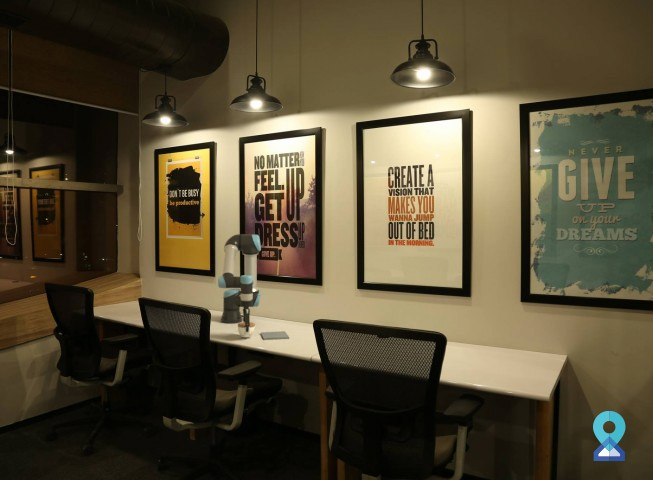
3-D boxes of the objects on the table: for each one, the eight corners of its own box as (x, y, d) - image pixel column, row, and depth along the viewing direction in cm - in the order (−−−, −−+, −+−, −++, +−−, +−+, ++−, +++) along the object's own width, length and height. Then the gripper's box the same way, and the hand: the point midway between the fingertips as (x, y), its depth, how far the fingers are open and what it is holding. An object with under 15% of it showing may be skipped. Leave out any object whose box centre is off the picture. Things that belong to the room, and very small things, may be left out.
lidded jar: (251, 338, 294) (251, 323, 293) (234, 337, 296) (235, 322, 296) (257, 334, 304) (257, 320, 304) (241, 333, 307) (241, 319, 306)
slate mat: (260, 333, 310) (260, 332, 310) (284, 332, 314) (284, 331, 314) (263, 339, 295) (263, 338, 295) (289, 338, 299) (289, 337, 299)
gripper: (238, 296, 309) (238, 330, 310) (241, 303, 287) (241, 339, 288) (250, 296, 311) (250, 330, 312) (254, 303, 289) (254, 338, 290)
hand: (246, 334), depth 300 cm, fingers closed on lidded jar, 11 cm apart
